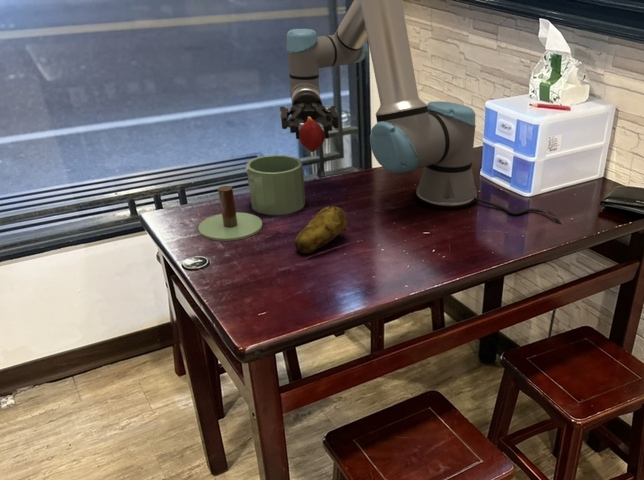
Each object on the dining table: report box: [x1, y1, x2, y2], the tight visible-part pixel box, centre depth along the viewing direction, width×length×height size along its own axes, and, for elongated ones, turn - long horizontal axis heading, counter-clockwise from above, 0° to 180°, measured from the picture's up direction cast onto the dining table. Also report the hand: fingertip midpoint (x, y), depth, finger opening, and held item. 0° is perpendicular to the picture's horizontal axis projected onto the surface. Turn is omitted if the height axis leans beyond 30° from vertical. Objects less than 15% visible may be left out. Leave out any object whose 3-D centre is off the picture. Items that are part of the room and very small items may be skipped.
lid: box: [197, 185, 263, 242], centre depth 134 cm, size 14×14×10 cm
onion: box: [298, 117, 326, 153], centre depth 140 cm, size 6×6×8 cm
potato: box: [294, 205, 349, 254], centre depth 129 cm, size 8×13×8 cm, turn 123°
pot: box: [245, 154, 306, 216], centre depth 145 cm, size 13×13×10 cm
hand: (312, 132), depth 135 cm, fingers closed on onion, 6 cm apart
